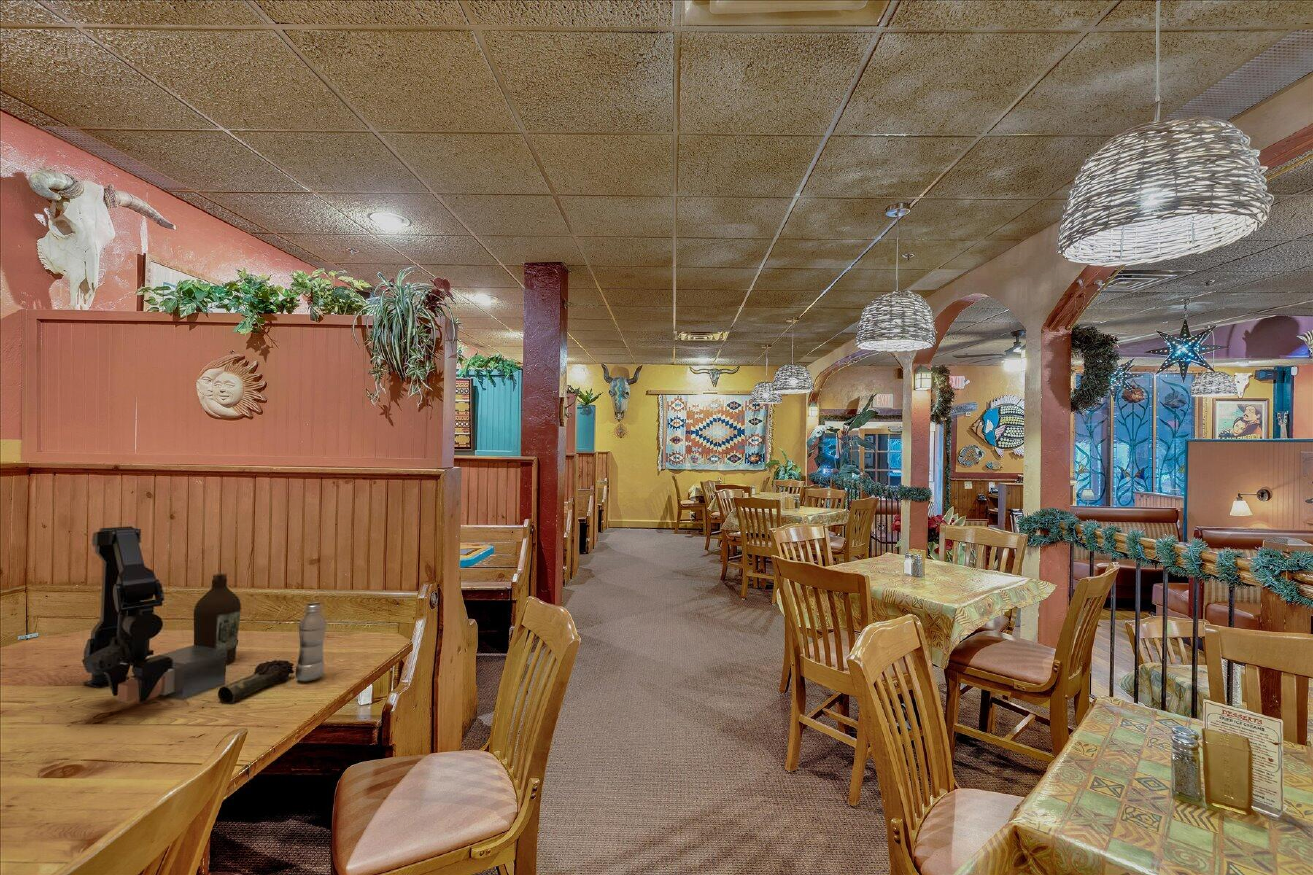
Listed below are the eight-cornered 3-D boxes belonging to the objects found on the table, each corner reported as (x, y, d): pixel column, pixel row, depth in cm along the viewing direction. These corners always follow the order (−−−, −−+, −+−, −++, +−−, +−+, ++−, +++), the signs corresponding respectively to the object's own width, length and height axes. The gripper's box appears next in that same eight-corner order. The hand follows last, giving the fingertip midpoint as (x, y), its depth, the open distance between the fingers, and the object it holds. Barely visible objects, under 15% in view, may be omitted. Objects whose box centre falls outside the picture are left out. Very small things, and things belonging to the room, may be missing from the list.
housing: (148, 691, 140) (151, 657, 140) (192, 677, 149) (194, 644, 150) (182, 699, 136) (184, 663, 136) (225, 683, 146) (227, 650, 146)
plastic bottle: (302, 674, 153) (306, 600, 154) (328, 674, 154) (332, 601, 154) (289, 684, 147) (293, 607, 147) (316, 684, 147) (320, 607, 148)
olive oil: (180, 667, 155) (185, 576, 156) (216, 654, 166) (221, 569, 166) (212, 671, 153) (218, 579, 154) (247, 658, 164) (252, 572, 165)
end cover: (112, 705, 130) (114, 677, 131) (183, 681, 145) (185, 656, 145) (130, 709, 128) (132, 681, 129) (201, 684, 143) (202, 659, 143)
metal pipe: (232, 706, 134) (233, 682, 134) (211, 702, 136) (212, 679, 136) (297, 678, 151) (298, 657, 151) (277, 675, 153) (278, 654, 153)
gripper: (63, 635, 127) (58, 706, 126) (118, 646, 121) (114, 720, 120) (123, 622, 137) (118, 687, 137) (176, 631, 132) (172, 699, 131)
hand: (129, 698), depth 131 cm, fingers open, 9 cm apart
